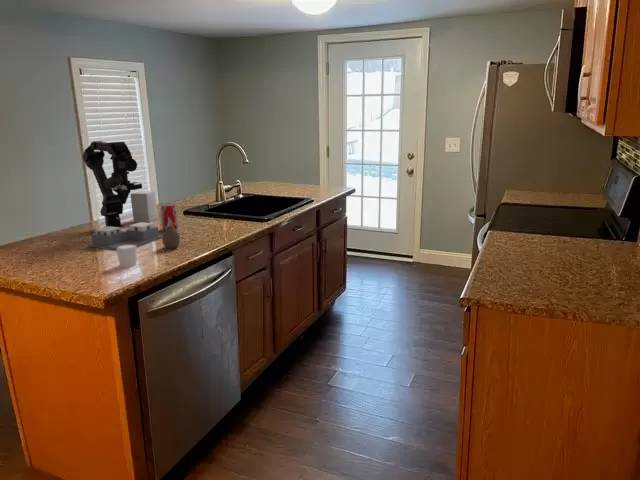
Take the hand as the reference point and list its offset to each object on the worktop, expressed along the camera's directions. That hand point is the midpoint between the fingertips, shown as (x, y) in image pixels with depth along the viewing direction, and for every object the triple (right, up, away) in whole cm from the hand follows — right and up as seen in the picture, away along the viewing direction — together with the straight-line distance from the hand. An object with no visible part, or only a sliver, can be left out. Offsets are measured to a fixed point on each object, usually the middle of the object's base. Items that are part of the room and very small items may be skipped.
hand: (123, 203), depth 227 cm
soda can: (+20, -12, +6) cm, 24 cm away
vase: (+30, -20, -25) cm, 43 cm away
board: (+7, -18, -16) cm, 25 cm away
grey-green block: (+2, -17, -20) cm, 26 cm away
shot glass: (+20, -26, -47) cm, 57 cm away
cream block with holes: (+13, -15, -13) cm, 24 cm away
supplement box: (+1, -7, +25) cm, 26 cm away
